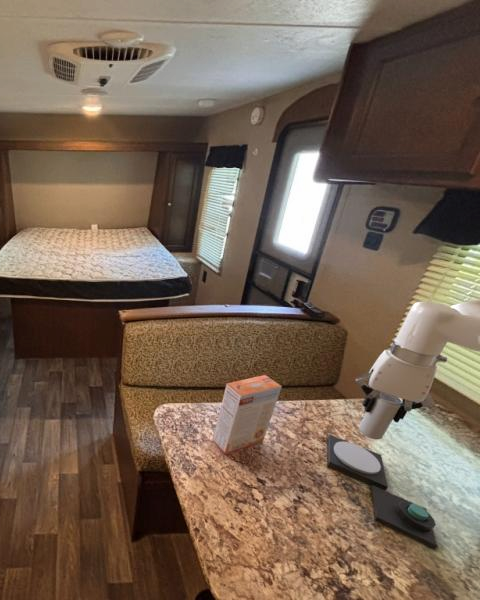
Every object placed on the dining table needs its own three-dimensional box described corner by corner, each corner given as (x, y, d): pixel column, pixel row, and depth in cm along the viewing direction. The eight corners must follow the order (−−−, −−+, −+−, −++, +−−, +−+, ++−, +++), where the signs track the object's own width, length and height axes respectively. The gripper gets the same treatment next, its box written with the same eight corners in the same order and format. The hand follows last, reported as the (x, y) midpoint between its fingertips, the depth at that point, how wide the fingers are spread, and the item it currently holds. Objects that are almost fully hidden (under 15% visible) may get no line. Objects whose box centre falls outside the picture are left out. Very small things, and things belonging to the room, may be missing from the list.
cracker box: (247, 428, 98) (265, 373, 90) (263, 443, 93) (284, 386, 84) (210, 438, 94) (226, 381, 85) (224, 455, 88) (242, 396, 80)
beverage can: (359, 423, 86) (377, 388, 81) (382, 434, 83) (402, 398, 78) (356, 433, 83) (375, 397, 78) (380, 444, 80) (402, 407, 75)
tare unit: (423, 512, 76) (429, 504, 74) (434, 549, 68) (441, 541, 67) (369, 488, 81) (374, 480, 80) (374, 520, 73) (379, 512, 72)
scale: (378, 459, 89) (382, 452, 88) (384, 492, 80) (389, 484, 79) (326, 439, 95) (329, 432, 94) (326, 466, 86) (330, 459, 85)
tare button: (423, 513, 73) (426, 508, 72) (426, 524, 70) (430, 519, 70) (406, 505, 74) (409, 501, 74) (408, 515, 72) (411, 511, 71)
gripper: (460, 359, 72) (422, 420, 79) (364, 335, 80) (338, 392, 88) (472, 375, 66) (430, 439, 73) (367, 348, 75) (339, 407, 82)
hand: (380, 413), depth 80 cm, fingers closed on beverage can, 4 cm apart
